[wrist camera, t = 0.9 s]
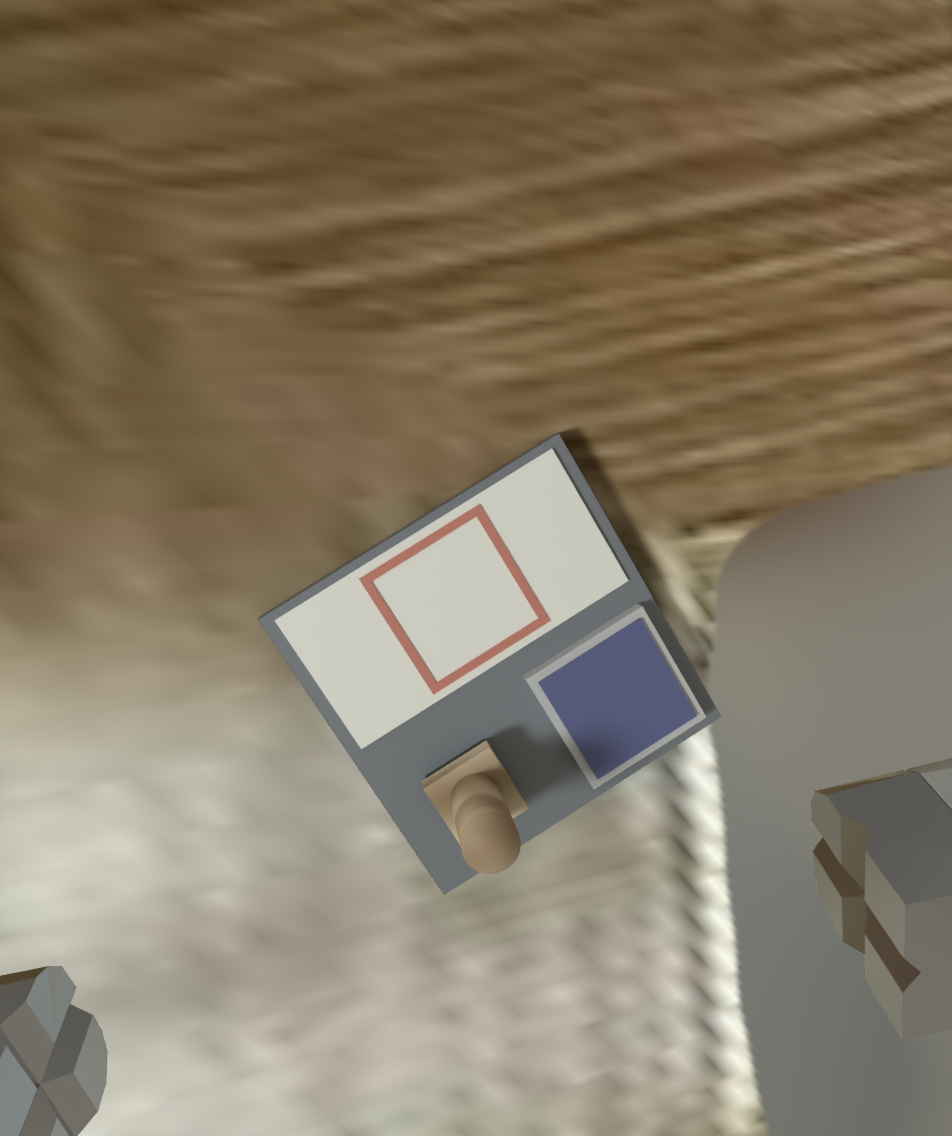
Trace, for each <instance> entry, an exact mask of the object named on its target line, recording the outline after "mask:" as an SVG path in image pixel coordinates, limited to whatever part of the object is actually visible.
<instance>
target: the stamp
mask: <svg viewBox="0 0 952 1136" xmlns="http://www.w3.org/2000/svg"><path fill="white" fill-rule="evenodd" d="M425 777H426V779H424V780H423V781H422V786H423V790H424V792H425V793H426V795H427V796H428V798H429V799H430V801H431V802H432V804H433V805H434V807H435V808H436V810H437V811H438V813H439V814H440V816H441V817H442V819H443V820H444V822H445V823H446V825H447V826H448V828H449V829H450V831H451V832H452V834H453V835H454V837H455V838H456V840H457V841H458V843H459V844H460V846H461V850H462V854H463V857H464V859H465V861H466V863H467V864H468V865H469V866H470V867H471V868H472V869H474V870H476V871H478V872H480V873H485V874H494V873H498V872H501V871H503V870H505V869H507V868H508V867H510V866H511V865H512V864H513V863H514V861H515V860H516V858H517V857H518V855H519V852H520V847H521V840H520V835H519V833H518V830H517V828H516V825H515V823H514V820H513V818H515V817H516V816H518V815H519V814H521V813H522V812H524V811H526V810H527V809H528V806H527V804H526V802H525V800H524V798H523V797H522V795H521V794H520V792H519V791H518V789H517V787H516V786H515V784H514V783H513V781H512V780H511V778H510V777H509V775H508V773H507V772H506V770H505V769H504V767H503V766H502V764H501V762H500V761H499V759H498V758H497V756H496V755H495V753H494V752H493V750H492V748H491V747H490V745H489V744H488V742H487V741H484V740H483V739H482V740H481V741H479V742H478V743H476V744H474V745H473V746H471V747H470V748H468V749H466V750H465V751H463V752H462V753H460V754H459V755H457V756H455V757H454V758H452V759H451V760H449V761H448V762H446V763H444V764H443V765H441V766H440V767H438V768H437V769H435V770H433V771H432V772H430V773H429V774H427V775H426V776H425Z"/></svg>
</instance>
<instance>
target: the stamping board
mask: <svg viewBox="0 0 952 1136" xmlns="http://www.w3.org/2000/svg"><path fill="white" fill-rule="evenodd" d="M258 621H259V623H260V624H261V626H262V627H263V629H264V630H265V632H266V633H267V635H268V636H269V638H270V639H271V640H272V642H273V643H274V645H275V646H276V648H277V649H278V651H279V652H280V654H281V655H282V657H283V658H284V660H285V661H286V663H287V664H288V666H289V667H290V668H291V670H292V671H293V673H294V674H295V676H296V677H297V679H298V680H299V682H300V683H301V685H302V686H303V688H304V689H305V691H306V692H307V694H308V695H309V696H310V698H311V699H312V701H313V702H314V704H315V705H316V707H317V708H318V710H319V711H320V713H321V714H322V716H323V717H324V719H325V720H326V722H327V723H328V725H329V726H330V727H331V729H332V730H333V732H334V733H335V735H336V736H337V738H338V739H339V741H340V742H341V744H342V745H343V747H344V748H345V750H346V751H347V753H348V754H349V755H350V757H351V758H352V760H353V761H354V763H355V764H356V766H357V767H358V769H359V770H360V772H361V773H362V775H363V776H364V778H365V779H366V781H367V782H368V783H369V785H370V786H371V788H372V789H373V791H374V792H375V794H376V795H377V797H378V798H379V800H380V801H381V803H382V804H383V806H384V807H385V809H386V810H387V812H388V813H389V814H390V816H391V817H392V819H393V820H394V822H395V823H396V825H397V826H398V828H399V829H400V831H401V832H402V834H403V835H404V837H405V838H406V840H407V841H408V842H409V844H410V845H411V847H412V848H413V850H414V851H415V853H416V854H417V856H418V857H419V859H420V860H421V862H422V863H423V865H424V866H425V868H426V869H427V870H428V872H429V873H430V875H431V876H432V878H433V879H434V881H435V882H436V884H437V885H438V887H439V888H440V890H441V891H442V893H443V894H444V895H445V894H446V893H448V892H449V891H451V890H452V889H454V888H455V887H457V886H459V885H460V884H462V883H463V882H465V881H466V880H468V879H470V878H471V877H473V876H474V875H476V874H477V873H479V872H478V871H476V870H474V869H472V868H471V867H470V866H469V865H468V864H467V863H466V861H465V859H464V857H463V854H462V850H461V846H460V844H459V843H458V841H457V840H456V838H455V837H454V835H453V834H452V832H451V831H450V829H449V828H448V826H447V825H446V823H445V822H444V820H443V819H442V817H441V816H440V814H439V813H438V811H437V810H436V808H435V807H434V805H433V804H432V802H431V801H430V799H429V798H428V796H427V795H426V793H425V792H424V790H423V786H422V781H423V780H424V779H426V777H425V776H426V775H427V774H429V773H430V772H432V771H433V770H435V769H437V768H438V767H440V766H441V765H443V764H444V763H446V762H448V761H449V760H451V759H452V758H454V757H455V756H457V755H459V754H460V753H462V752H463V751H465V750H466V749H468V748H470V747H471V746H473V745H474V744H476V743H478V742H479V741H481V740H482V739H483V740H484V741H487V742H488V744H489V745H490V747H491V748H492V750H493V752H494V753H495V755H496V756H497V758H498V759H499V761H500V762H501V764H502V766H503V767H504V769H505V770H506V772H507V773H508V775H509V777H510V778H511V780H512V781H513V783H514V784H515V786H516V787H517V789H518V791H519V792H520V794H521V795H522V797H523V798H524V800H525V802H526V804H527V806H528V809H527V810H526V811H524V812H522V813H521V814H519V815H518V816H516V817H515V818H513V820H514V823H515V825H516V828H517V830H518V833H519V835H520V840H521V845H522V844H524V843H526V842H527V841H529V840H530V839H532V838H533V837H535V836H536V835H538V834H540V833H541V832H543V831H544V830H546V829H547V828H549V827H550V826H552V825H554V824H555V823H557V822H558V821H560V820H561V819H563V818H564V817H566V816H568V815H569V814H571V813H572V812H574V811H575V810H577V809H578V808H580V807H582V806H583V805H585V804H586V803H588V802H589V801H591V800H592V799H594V798H596V797H597V796H599V795H600V794H602V793H603V792H605V791H606V790H608V789H610V788H611V787H613V786H614V785H616V784H617V783H619V782H621V781H622V780H624V779H625V778H627V777H628V776H630V775H631V774H633V773H635V772H636V771H638V770H639V769H641V768H642V767H644V766H645V765H647V764H649V763H650V762H652V761H653V760H655V759H656V758H658V757H659V756H661V755H663V754H664V753H666V752H667V751H669V750H670V749H672V748H673V747H675V746H677V745H678V744H680V743H681V742H683V741H684V740H686V739H687V738H689V737H691V736H692V735H694V734H695V733H697V732H698V731H700V730H701V729H703V728H705V727H706V726H708V725H709V724H711V723H712V722H714V721H715V720H717V719H718V718H720V717H721V715H720V714H719V712H718V710H717V709H716V707H715V705H714V703H713V701H712V700H711V698H710V696H709V694H708V693H707V691H706V689H705V687H704V686H703V684H702V682H701V680H700V679H699V677H698V675H697V673H696V672H695V670H694V668H693V667H692V665H691V663H690V661H689V660H688V658H687V656H686V654H685V653H684V651H683V649H682V647H681V646H680V644H679V642H678V640H677V639H676V637H675V635H674V633H673V632H672V630H671V628H670V626H669V625H668V623H667V621H666V619H665V618H664V616H663V614H662V612H661V611H660V609H659V607H658V606H657V604H656V602H655V600H654V599H653V597H652V595H651V593H650V592H649V590H648V588H647V586H646V585H645V583H644V581H643V579H642V578H641V576H640V574H639V572H638V571H637V569H636V567H635V565H634V564H633V562H632V560H631V558H630V557H629V555H628V553H627V551H626V550H625V548H624V546H623V544H622V543H621V541H620V539H619V538H618V536H617V534H616V532H615V531H614V529H613V527H612V525H611V524H610V522H609V520H608V518H607V517H606V515H605V513H604V511H603V510H602V508H601V506H600V504H599V503H598V501H597V499H596V497H595V496H594V494H593V492H592V490H591V489H590V487H589V485H588V483H587V482H586V480H585V478H584V477H583V475H582V473H581V471H580V470H579V468H578V466H577V464H576V463H575V461H574V459H573V457H572V456H571V454H570V452H569V450H568V449H567V447H566V445H565V443H564V442H563V440H562V438H561V436H560V435H559V434H554V435H552V436H550V437H549V438H547V439H546V440H544V441H542V442H541V443H539V444H537V445H536V446H534V447H533V448H531V449H529V450H528V451H526V452H525V453H523V454H521V455H520V456H518V457H517V458H515V459H513V460H512V461H510V462H508V463H507V464H505V465H504V466H502V467H500V468H499V469H497V470H496V471H494V472H492V473H491V474H489V475H487V476H486V477H484V478H483V479H481V480H479V481H478V482H476V483H475V484H473V485H471V486H470V487H468V488H466V489H465V490H463V491H462V492H460V493H458V494H457V495H455V496H454V497H452V498H450V499H449V500H447V501H445V502H444V503H442V504H441V505H439V506H437V507H436V508H434V509H433V510H431V511H429V512H428V513H426V514H424V515H423V516H421V517H420V518H418V519H416V520H415V521H413V522H412V523H410V524H408V525H407V526H405V527H403V528H402V529H400V530H399V531H397V532H395V533H394V534H392V535H391V536H389V537H387V538H386V539H384V540H383V541H381V542H379V543H378V544H376V545H374V546H373V547H371V548H370V549H368V550H366V551H365V552H363V553H362V554H360V555H358V556H357V557H355V558H353V559H352V560H350V561H349V562H347V563H345V564H344V565H342V566H341V567H339V568H337V569H336V570H334V571H332V572H331V573H329V574H328V575H326V576H324V577H323V578H321V579H320V580H318V581H316V582H315V583H313V584H311V585H310V586H308V587H307V588H305V589H303V590H302V591H300V592H299V593H297V594H295V595H294V596H292V597H290V598H289V599H287V600H286V601H284V602H282V603H281V604H279V605H278V606H276V607H274V608H273V609H271V610H270V611H268V612H266V613H265V614H263V615H261V616H260V617H259V619H258Z"/></svg>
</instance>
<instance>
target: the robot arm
mask: <svg viewBox="0 0 952 1136" xmlns="http://www.w3.org/2000/svg"><path fill="white" fill-rule="evenodd" d="M811 812H812V813H811V814H812V815H811V817H812V821H813V823H814V824H815V826H816V827H817V829H818V830H819V832H820V834H821V835H822V836H823V837H822V839H821V840H820V842H819V843H818V845H817V846H816V847H815V849H814V850H813V862H814V875H815V879H816V882H817V886H818V889H819V893H820V896H821V900H822V903H823V905H824V907H825V909H826V911H827V914H828V916H829V918H830V920H831V922H832V924H833V925H834V927H835V929H836V931H837V932H838V934H839V936H840V938H841V939H842V941H843V942H844V943H846V944H848V945H849V946H852V947H853V948H855V949H856V950H858V951H860V952H862V953H863V954H865V979H866V981H867V983H868V984H869V986H870V988H871V989H872V991H873V992H874V994H875V996H876V997H877V999H878V1001H879V1002H880V1004H881V1006H882V1007H883V1009H884V1010H885V1012H886V1014H887V1015H888V1017H889V1019H890V1020H891V1022H892V1024H893V1025H894V1027H895V1029H896V1030H897V1032H898V1033H899V1035H900V1037H901V1038H902V1039H904V1038H909V1037H914V1036H920V1035H925V1034H930V1033H935V1032H940V1031H945V1030H950V1029H952V758H951V759H947V760H943V761H939V762H934V763H931V764H926V765H922V766H918V767H913V768H910V769H908V770H906V771H903V770H901V771H897V772H893V773H889V774H885V775H880V776H877V777H872V778H868V779H864V780H860V781H855V782H851V783H847V784H843V785H838V786H834V787H830V788H826V789H822V790H817V791H815V792H814V795H813V798H812V801H811ZM75 989H76V986H75V985H74V983H73V982H72V981H71V979H70V978H69V976H68V975H67V973H66V972H65V970H64V969H63V967H60V966H47V967H42V968H37V969H32V970H27V971H22V972H17V973H12V974H7V975H2V976H0V1136H78V1134H79V1133H80V1132H81V1131H82V1130H83V1128H84V1127H85V1126H86V1125H87V1124H88V1122H89V1121H90V1120H91V1119H92V1118H93V1117H94V1115H95V1114H96V1113H97V1112H98V1109H99V1106H100V1102H101V1099H102V1095H103V1092H104V1088H105V1085H106V1074H107V1048H106V1044H105V1040H104V1036H103V1033H102V1030H101V1028H100V1026H99V1025H98V1023H97V1021H96V1019H95V1018H94V1016H93V1015H92V1014H90V1013H88V1012H86V1011H83V1010H81V1009H79V1008H77V1007H75V1006H73V1005H71V1004H70V1003H71V1001H72V998H73V995H74V992H75Z"/></svg>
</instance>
